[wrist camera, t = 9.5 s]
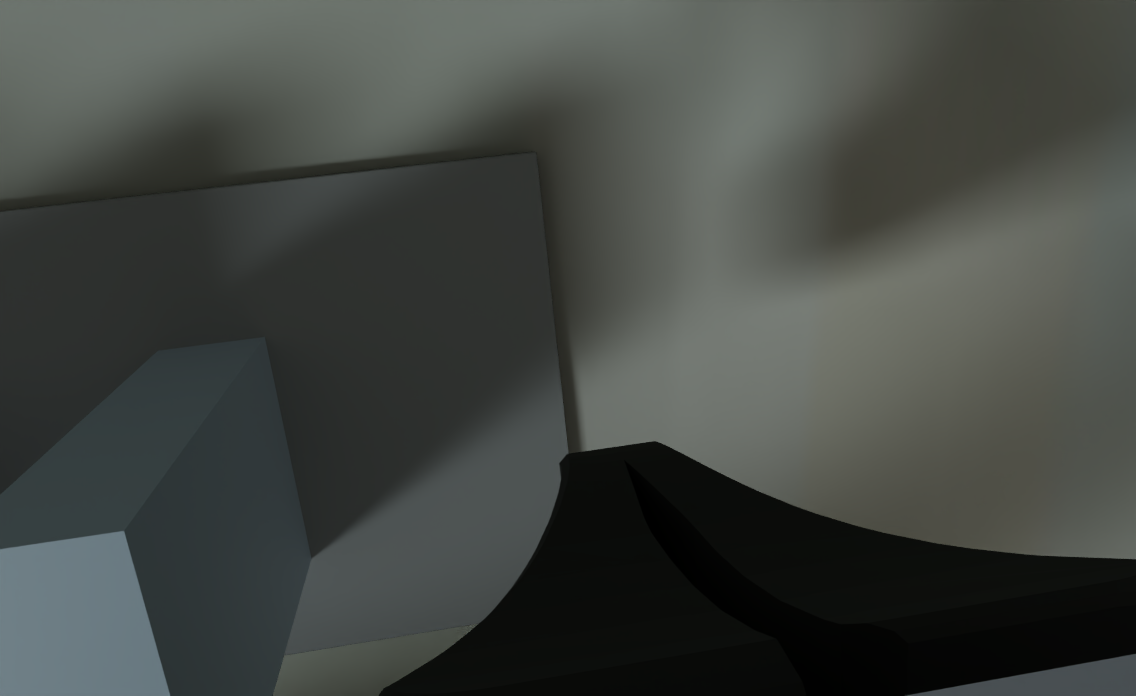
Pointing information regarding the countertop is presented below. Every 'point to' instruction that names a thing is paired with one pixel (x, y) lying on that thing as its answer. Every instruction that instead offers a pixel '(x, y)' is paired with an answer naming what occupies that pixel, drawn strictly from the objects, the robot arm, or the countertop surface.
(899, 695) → the robot arm
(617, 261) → the countertop surface
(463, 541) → the runner mat
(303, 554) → the tile
